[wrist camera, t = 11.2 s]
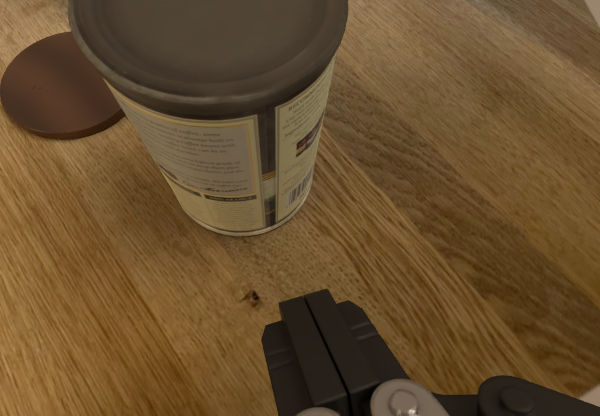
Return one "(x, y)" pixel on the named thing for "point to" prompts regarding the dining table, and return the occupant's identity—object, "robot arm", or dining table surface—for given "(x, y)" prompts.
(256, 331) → the dining table surface
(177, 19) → the coffee can
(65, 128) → the dark brown wooden coaster
